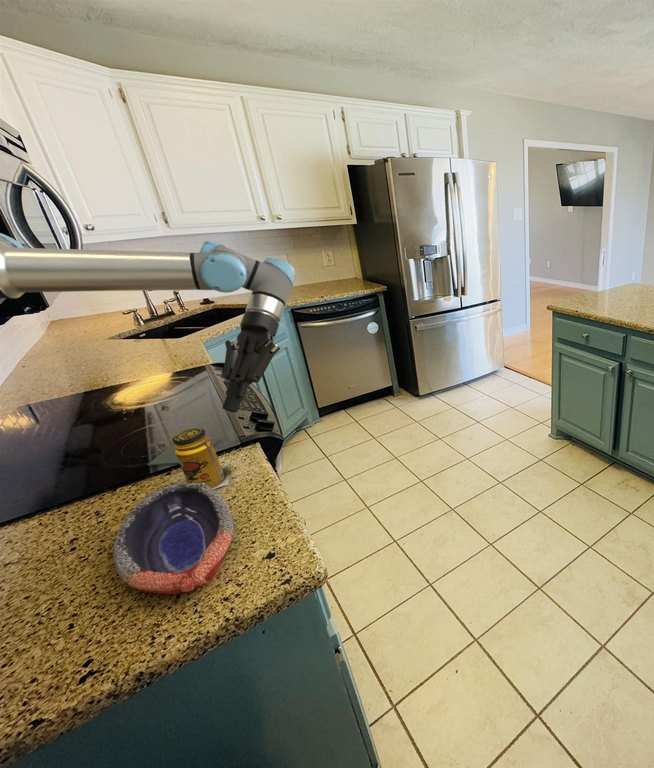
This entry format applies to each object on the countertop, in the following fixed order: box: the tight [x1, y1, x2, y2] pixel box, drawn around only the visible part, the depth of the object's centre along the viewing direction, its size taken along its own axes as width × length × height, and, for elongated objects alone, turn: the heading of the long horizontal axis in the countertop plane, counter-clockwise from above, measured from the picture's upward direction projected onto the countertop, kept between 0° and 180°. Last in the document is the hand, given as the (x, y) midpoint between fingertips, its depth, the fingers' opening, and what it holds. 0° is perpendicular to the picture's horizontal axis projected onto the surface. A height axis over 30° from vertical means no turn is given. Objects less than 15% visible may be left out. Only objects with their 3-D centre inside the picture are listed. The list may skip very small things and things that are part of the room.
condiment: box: [172, 427, 230, 490], centre depth 84 cm, size 7×8×12 cm
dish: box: [112, 482, 235, 595], centre depth 68 cm, size 16×31×5 cm, turn 41°
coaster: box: [147, 437, 220, 467], centre depth 96 cm, size 10×10×1 cm
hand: (229, 410), depth 90 cm, fingers closed
